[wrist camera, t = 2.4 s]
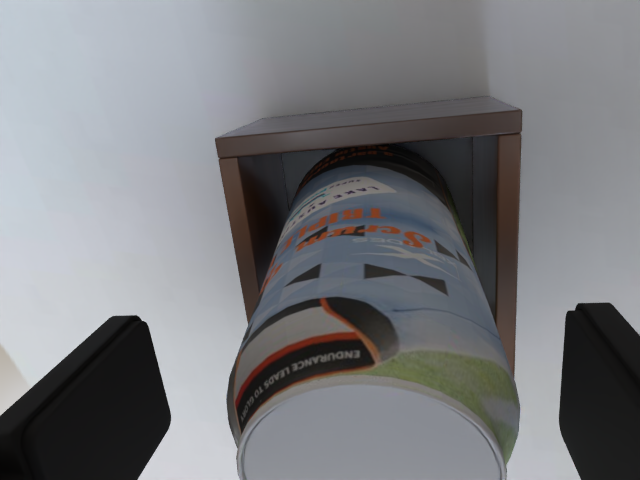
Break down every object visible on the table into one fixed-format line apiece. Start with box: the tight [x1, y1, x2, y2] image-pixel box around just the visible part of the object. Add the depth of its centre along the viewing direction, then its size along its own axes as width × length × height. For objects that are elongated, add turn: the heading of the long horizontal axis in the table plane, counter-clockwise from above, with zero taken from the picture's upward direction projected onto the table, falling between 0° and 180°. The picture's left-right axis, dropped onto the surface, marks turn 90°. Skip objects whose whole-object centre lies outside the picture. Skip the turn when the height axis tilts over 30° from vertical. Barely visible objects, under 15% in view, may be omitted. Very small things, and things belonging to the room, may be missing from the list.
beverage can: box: [227, 144, 520, 480], centre depth 14 cm, size 6×7×12 cm
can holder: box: [215, 96, 522, 377], centre depth 17 cm, size 9×8×5 cm
